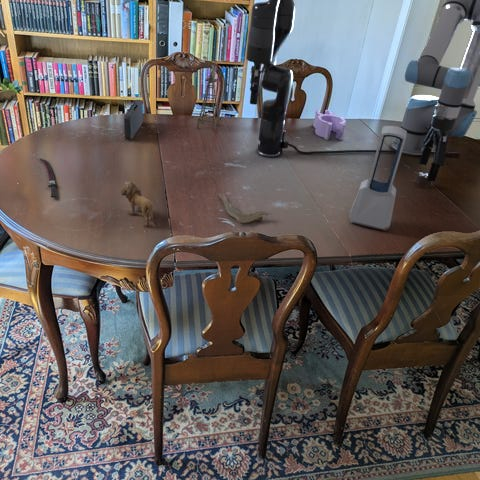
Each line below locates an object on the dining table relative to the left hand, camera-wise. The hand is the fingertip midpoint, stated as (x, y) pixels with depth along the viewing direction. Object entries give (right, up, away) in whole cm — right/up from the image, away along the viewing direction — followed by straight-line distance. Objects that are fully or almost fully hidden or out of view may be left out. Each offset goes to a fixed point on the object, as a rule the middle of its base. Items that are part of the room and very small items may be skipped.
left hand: (254, 100), depth 143 cm
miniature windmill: (-19, +7, +62) cm, 65 cm away
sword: (-67, -23, +8) cm, 71 cm away
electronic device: (+36, -38, +3) cm, 52 cm away
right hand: (+64, -18, +29) cm, 73 cm away
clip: (+35, +7, +71) cm, 80 cm away
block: (+63, -23, +31) cm, 74 cm away
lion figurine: (-34, -36, -7) cm, 50 cm away
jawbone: (-4, -33, +3) cm, 34 cm away
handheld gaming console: (-48, +2, +50) cm, 70 cm away
